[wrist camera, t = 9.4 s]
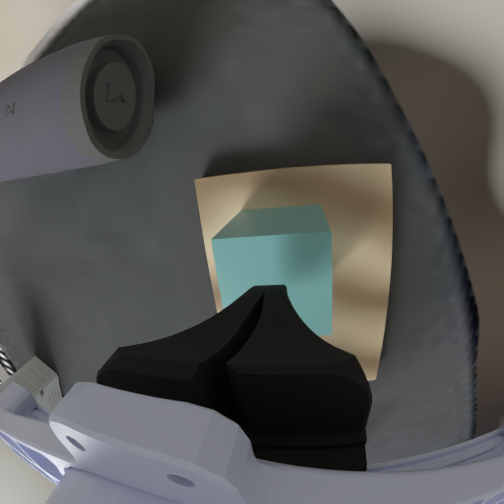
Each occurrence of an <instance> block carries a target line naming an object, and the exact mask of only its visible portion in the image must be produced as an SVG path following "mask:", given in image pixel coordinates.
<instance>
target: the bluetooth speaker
mask: <svg viewBox="0 0 504 504" xmlns="http://www.w3.org/2000/svg"><path fill="white" fill-rule="evenodd" d="M154 94H155V75H154V70H153V66H152V63H151V60H150V58H149V56H148V54H147V52H146V50H145V49H144V47H143V46H142V44H141V43H140V42H139V41H138V40H137V39H135V38H134V37H132V36H129V35H125V34H110V35H105V36H100V37H95V38H92V39H88V40H85V41H82V42H78V43H76V44H73V45H70V46H68V47H65V48H63V49H61V50H58V51H56V52H54V53H51V54H49V55H47V56H45V57H43V58H41V59H39V60H37V61H35V62H33V63H31V64H29V65H28V66H26V67H24V68H22V69H20V70H19V71H17V72H15V73H14V74H12V75H11V76H9V77H8V78H6V79H5V80H3V81H2V82H1V83H0V182H1V181H8V180H15V179H22V178H28V177H34V176H39V175H45V174H51V173H56V172H62V171H67V170H73V169H79V168H85V167H91V166H97V165H102V164H106V163H110V162H115V161H118V160H122V159H126V158H129V157H131V156H133V155H134V154H136V153H137V152H138V151H139V150H140V149H141V147H142V146H143V145H144V143H145V142H146V140H147V138H148V136H149V133H150V131H151V128H152V124H153V110H154Z"/></svg>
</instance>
